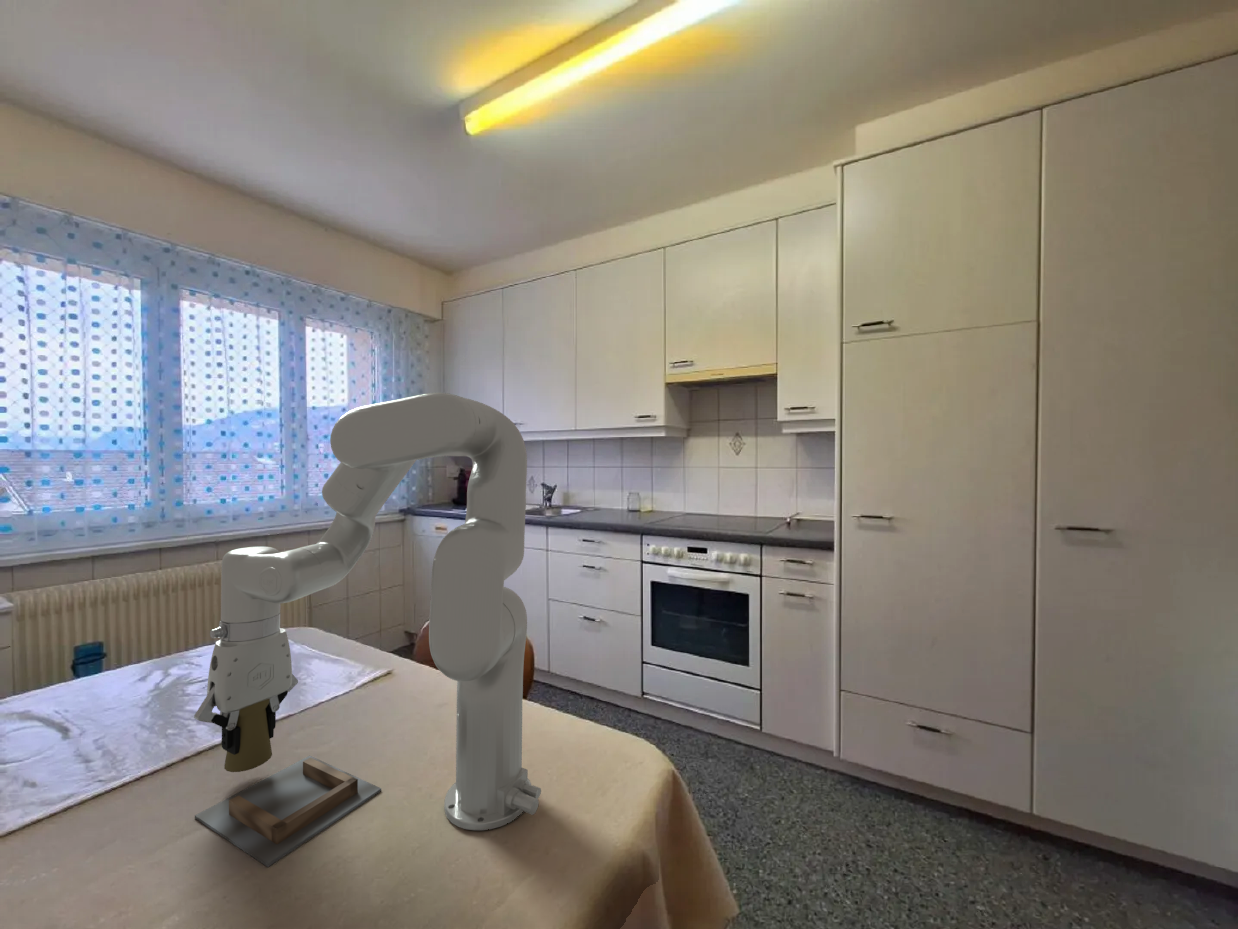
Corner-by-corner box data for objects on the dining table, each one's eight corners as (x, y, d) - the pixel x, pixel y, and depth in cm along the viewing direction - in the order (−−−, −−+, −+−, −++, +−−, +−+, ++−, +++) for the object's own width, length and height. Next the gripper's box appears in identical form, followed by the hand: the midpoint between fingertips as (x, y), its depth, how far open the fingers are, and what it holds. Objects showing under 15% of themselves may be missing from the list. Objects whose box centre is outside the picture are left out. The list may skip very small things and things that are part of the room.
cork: (281, 750, 80) (282, 683, 80) (250, 774, 74) (251, 701, 74) (247, 747, 81) (248, 680, 81) (213, 770, 75) (214, 698, 75)
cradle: (381, 791, 76) (381, 775, 76) (267, 867, 61) (267, 848, 61) (309, 757, 84) (309, 743, 84) (194, 818, 69) (194, 801, 69)
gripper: (198, 649, 68) (196, 781, 68) (319, 616, 83) (317, 725, 83) (172, 639, 72) (170, 765, 72) (292, 609, 87) (290, 713, 87)
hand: (249, 742), depth 78 cm, fingers closed on cork, 4 cm apart
